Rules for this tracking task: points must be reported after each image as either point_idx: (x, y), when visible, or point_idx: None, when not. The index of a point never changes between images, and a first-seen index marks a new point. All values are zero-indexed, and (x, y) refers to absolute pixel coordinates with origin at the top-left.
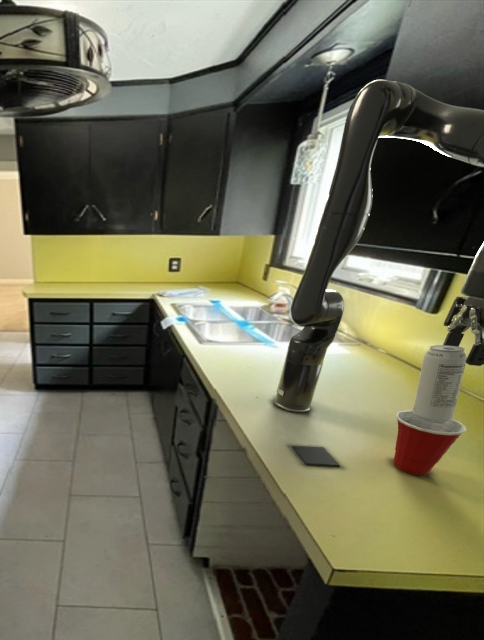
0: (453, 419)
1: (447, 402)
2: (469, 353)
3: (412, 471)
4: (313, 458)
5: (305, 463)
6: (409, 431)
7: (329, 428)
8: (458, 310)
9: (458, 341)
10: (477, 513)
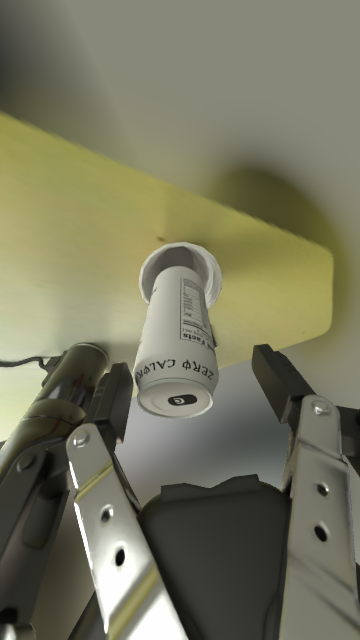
0: (157, 249)
1: (205, 300)
2: (265, 393)
3: (193, 265)
4: None
5: (215, 346)
6: None
7: (125, 326)
8: (22, 599)
9: (118, 392)
10: (248, 216)
